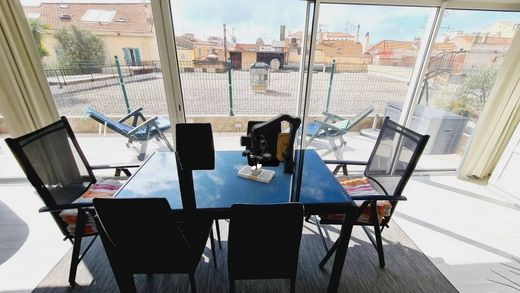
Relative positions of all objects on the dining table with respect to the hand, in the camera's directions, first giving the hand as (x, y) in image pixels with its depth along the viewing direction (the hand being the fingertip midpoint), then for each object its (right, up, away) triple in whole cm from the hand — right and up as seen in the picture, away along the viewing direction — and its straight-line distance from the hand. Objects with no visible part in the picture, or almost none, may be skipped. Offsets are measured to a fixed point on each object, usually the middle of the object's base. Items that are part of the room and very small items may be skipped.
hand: (256, 166), depth 144 cm
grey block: (0, -6, +2) cm, 6 cm away
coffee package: (+22, +4, +26) cm, 34 cm away
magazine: (+3, +4, +27) cm, 28 cm away
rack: (0, -6, +2) cm, 6 cm away
